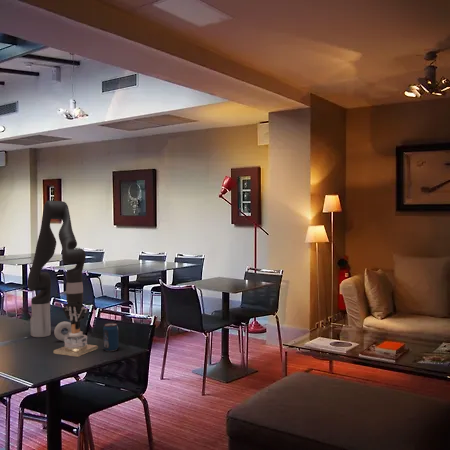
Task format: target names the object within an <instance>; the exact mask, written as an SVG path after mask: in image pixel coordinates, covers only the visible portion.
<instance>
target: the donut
mask: <svg viewBox="0 0 450 450" xmlns="http://www.w3.org/2000/svg"><path fill="white" fill-rule="evenodd" d="M63 329H66V330H67V333H65V334H63V333H62V331H63ZM70 332H72V331H71V321H61V322H59V323H57V325H56V326H55V327H54V331H53V334H54V337H55V338H56V339H57V340H58V341H61V342H64V338H65V337H67V336H69V333H70Z"/></svg>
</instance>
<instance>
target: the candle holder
mask: <svg viewBox="0 0 450 450" xmlns="http://www.w3.org/2000/svg"><path fill="white" fill-rule="evenodd" d="M63 342H64V346H61V347H59V348H55V349H53V354H54V355H62V356H70V357H78V358H79V357H81V356H83V355H86V354H88V353H90V352H93V351H96V350H98V349H99V346H98V345H96V344H95V345H94V344H88V335H86V334H83V335H82V336H80V337H69V336H67V337H65V338H64V341H63Z"/></svg>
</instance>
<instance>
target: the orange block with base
mask: <svg viewBox="0 0 450 450" xmlns="http://www.w3.org/2000/svg"><path fill="white" fill-rule="evenodd" d="M71 331H72V332H70V333H69V337H80V336H82V335H84V334H83V333H84V332H83V331H81V327H80V328H79V329H76V328H75V324H72V325H71Z"/></svg>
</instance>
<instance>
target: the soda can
mask: <svg viewBox="0 0 450 450" xmlns="http://www.w3.org/2000/svg"><path fill="white" fill-rule="evenodd" d="M103 325H104V326H103V328H102V332H103V333H102V336H103V337H102V338H103V339H102V340H103V345H102V346H103V349H104V351H106V352H114V351H115V352H116V351H117V350H118V348H119V347H120V346H119V343H120V342H119V341H120V340H119V327H118V324H117V323H115V322H109V323H105V324H103Z"/></svg>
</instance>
